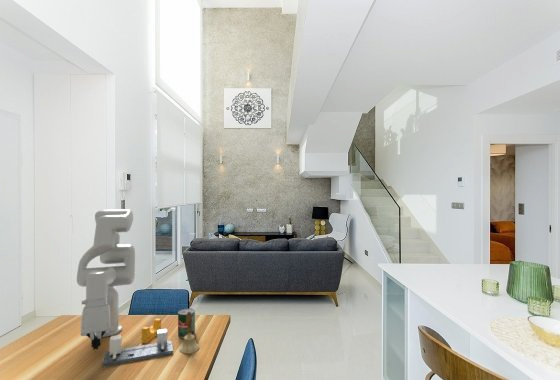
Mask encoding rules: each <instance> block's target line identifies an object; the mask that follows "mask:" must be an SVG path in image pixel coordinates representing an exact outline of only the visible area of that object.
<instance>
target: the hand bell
mask: <svg viewBox="0 0 560 380" xmlns="http://www.w3.org/2000/svg"><path fill="white" fill-rule="evenodd" d="M186 324H187V335H186V336H185V337H184V338H183V343H182V344H181V346H180V348H179V350H178V351H179V352H180V353H181V354H184V355H187V354H189V355H190V354H194V353H196V352H198V351H199V349H200V345H199V344H197V341H196V338H195V337H196V336H195V335H192V334H191V324H192V315H191V312H187V316H186Z"/></svg>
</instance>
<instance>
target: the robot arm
mask: <svg viewBox="0 0 560 380" xmlns="http://www.w3.org/2000/svg"><path fill="white" fill-rule="evenodd" d="M94 221H95V229H94V230H95V231H94V237H93V245H92V246H91V247H90V248H89V249H88V250H87V251H86V252H84V254H83V255H82V257H81V258H80V260H79V263H78V268H77V272H76V283H77V285H78V286H79V287H82V288H84V287H85V299H84V300H81V305H84V307H83V309H82V314H81V320H80V321H81V323H80V336H82V337H88V338H89V339H90V340H91V348H92V350H93V351H95V350H99V347H101V343H102V342H101V338H105V337H106V338H107V337H111V336H116V335H118V334H119V333H121V331H122V330H123V327H122V325H120V324H119V313H120V312H119V303H120V302H119V301H120V299H119V298H120V297H119V296H120V295H119V292H118V291H117V289H116V288H115V287H118V286H120V287H121V286H128V285H132V284H133V283H134V280H135V275H136V274H135V272H136V269H135V268H136V249H135V246H134V245H133V244H130V243H126V244H125V243H124V244H120V238H121V236H120V233H128V232H130V230H131V227H132V225H133V221H134V214H133V211H132V210H131V209H101V210H98V211H96V212H95V215H94ZM97 257H99V261H100V263H101V264H103V265H113V266H101V267H88V265H89V263H90V262H91V261H93V260H94V259H95V258H97ZM116 264H124V265H116ZM114 265H115V266H114Z"/></svg>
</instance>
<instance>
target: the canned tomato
mask: <svg viewBox="0 0 560 380" xmlns="http://www.w3.org/2000/svg"><path fill="white" fill-rule="evenodd" d="M187 312H191V315H192V324H191V334H192V335H194V336H195V334H196V313H195V312H196V310H195V309H193V308H183V309H180V310H178V312H177V337H179V338H181V339H184V337H185V336H186V335H187V324H186V316H187Z"/></svg>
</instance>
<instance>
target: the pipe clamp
mask: <svg viewBox="0 0 560 380" xmlns="http://www.w3.org/2000/svg"><path fill="white" fill-rule="evenodd" d="M161 329H162V319H161V318H155V319H154V320H153V324H151V325H150V326H143V327H142V328H141V343H145V344H149V343H148V342H150V341H151V340H153V339H154V338H155V337H157V330H161Z"/></svg>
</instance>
